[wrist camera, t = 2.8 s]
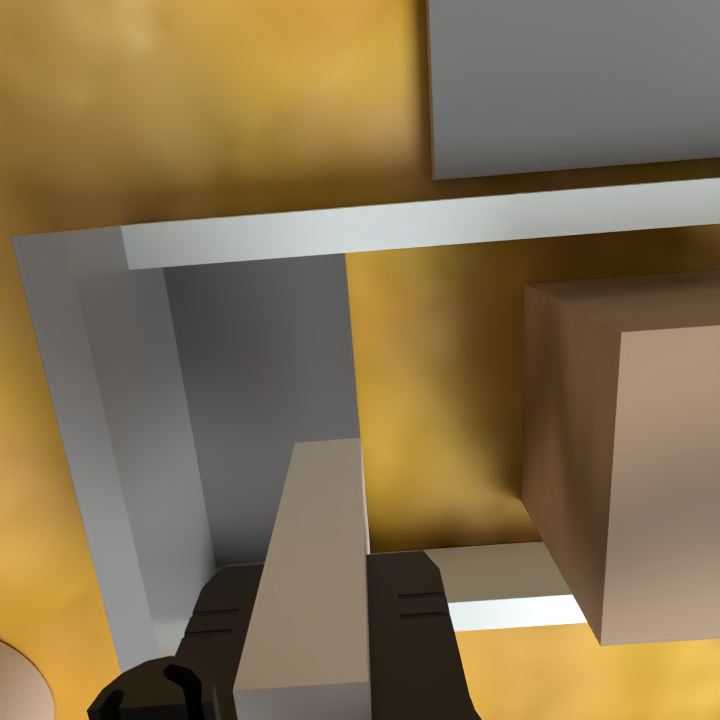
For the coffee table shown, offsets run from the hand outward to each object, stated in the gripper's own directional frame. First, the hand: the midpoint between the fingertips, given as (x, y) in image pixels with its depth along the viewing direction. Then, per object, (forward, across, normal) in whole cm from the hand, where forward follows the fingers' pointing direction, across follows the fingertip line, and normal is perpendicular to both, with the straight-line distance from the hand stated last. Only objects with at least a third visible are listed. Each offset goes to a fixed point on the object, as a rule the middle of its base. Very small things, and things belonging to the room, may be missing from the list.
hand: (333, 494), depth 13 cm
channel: (+4, +5, 0) cm, 6 cm away
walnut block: (+4, +9, 0) cm, 10 cm away
